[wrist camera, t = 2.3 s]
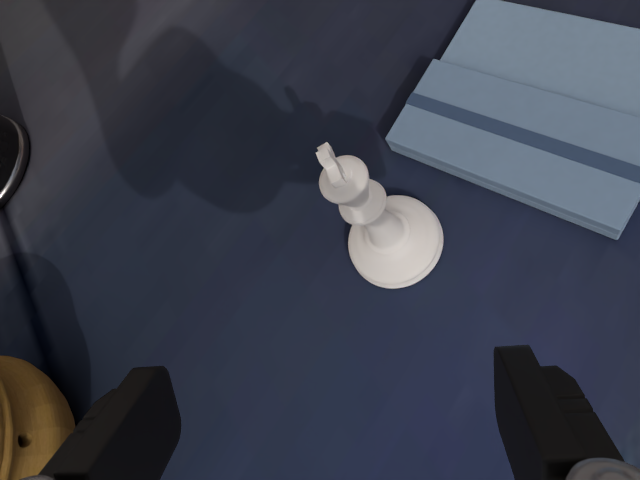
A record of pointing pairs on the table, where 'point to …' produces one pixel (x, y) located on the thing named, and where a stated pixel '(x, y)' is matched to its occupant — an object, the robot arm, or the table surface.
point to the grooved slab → (534, 112)
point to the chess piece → (380, 224)
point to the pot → (29, 419)
